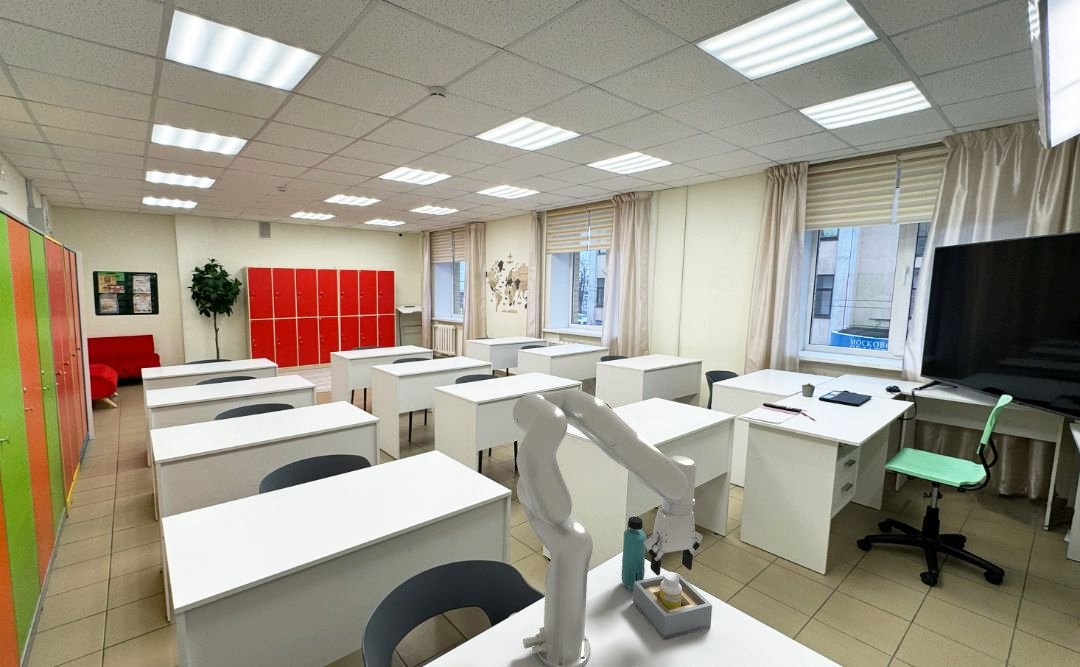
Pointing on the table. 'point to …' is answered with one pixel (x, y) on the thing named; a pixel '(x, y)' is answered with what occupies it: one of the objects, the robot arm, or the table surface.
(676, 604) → the supplement bottle
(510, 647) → the table surface
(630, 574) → the beverage bottle
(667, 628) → the box
